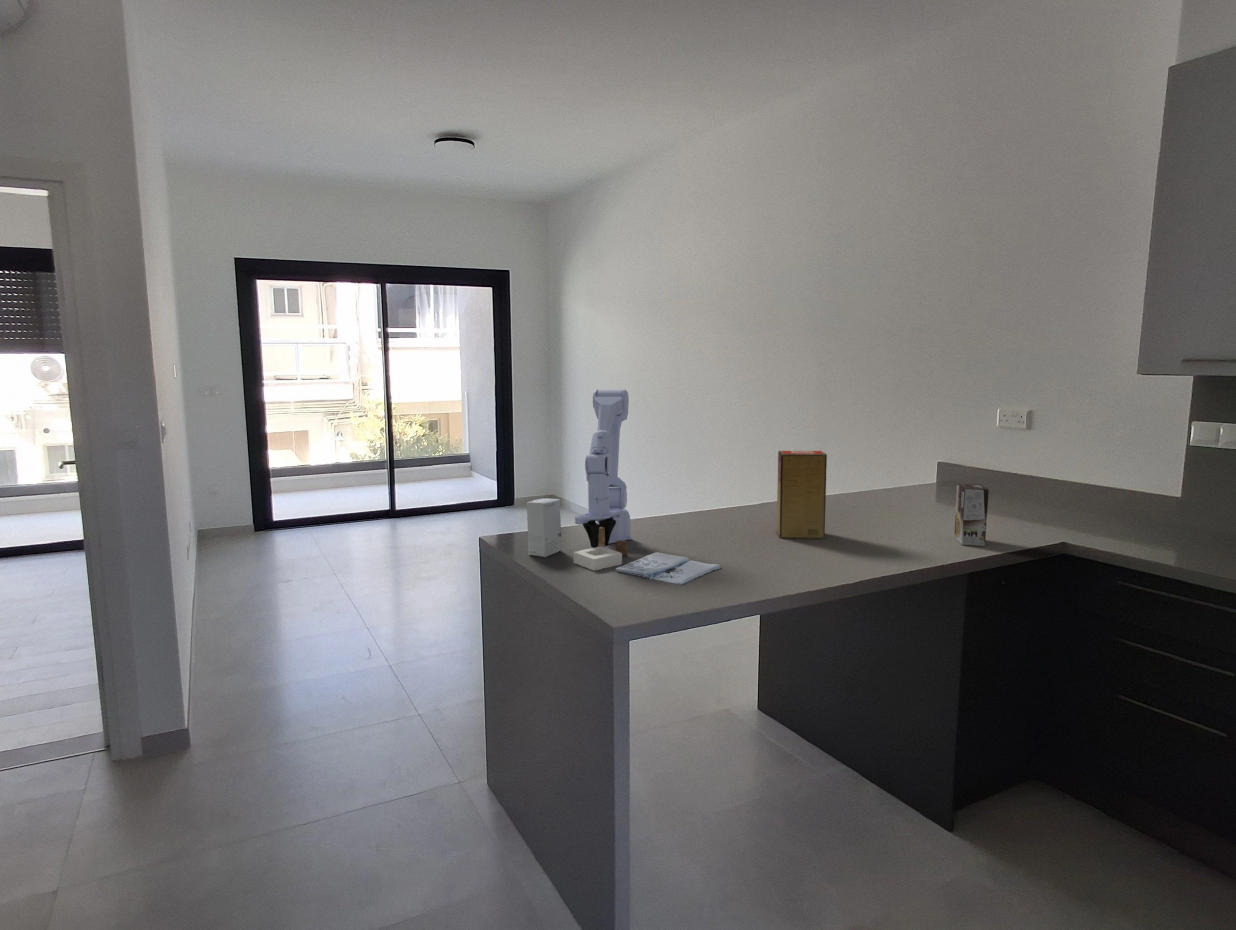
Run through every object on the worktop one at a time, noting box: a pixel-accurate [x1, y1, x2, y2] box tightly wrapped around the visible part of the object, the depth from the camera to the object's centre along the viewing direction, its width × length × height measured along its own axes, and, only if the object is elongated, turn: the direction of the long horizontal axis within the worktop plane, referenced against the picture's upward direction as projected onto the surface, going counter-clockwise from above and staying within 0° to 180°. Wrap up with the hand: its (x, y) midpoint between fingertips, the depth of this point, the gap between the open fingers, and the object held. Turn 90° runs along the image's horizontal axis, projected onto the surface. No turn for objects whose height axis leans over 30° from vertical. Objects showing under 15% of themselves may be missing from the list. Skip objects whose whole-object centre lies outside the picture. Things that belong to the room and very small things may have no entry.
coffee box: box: [953, 483, 990, 547], centre depth 209 cm, size 9×6×16 cm
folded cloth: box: [615, 551, 721, 586], centre depth 186 cm, size 19×20×2 cm
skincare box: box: [526, 497, 562, 558], centre depth 203 cm, size 8×6×15 cm
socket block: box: [573, 546, 623, 572], centre depth 192 cm, size 9×9×3 cm
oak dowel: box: [598, 527, 606, 548], centre depth 202 cm, size 3×3×7 cm
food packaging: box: [775, 450, 828, 540], centre depth 219 cm, size 13×9×25 cm
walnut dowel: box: [615, 540, 628, 558], centre depth 200 cm, size 3×3×4 cm
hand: (599, 546), depth 202 cm, fingers closed on oak dowel, 3 cm apart
